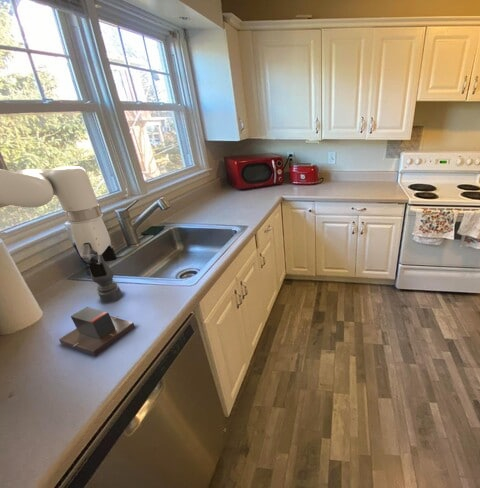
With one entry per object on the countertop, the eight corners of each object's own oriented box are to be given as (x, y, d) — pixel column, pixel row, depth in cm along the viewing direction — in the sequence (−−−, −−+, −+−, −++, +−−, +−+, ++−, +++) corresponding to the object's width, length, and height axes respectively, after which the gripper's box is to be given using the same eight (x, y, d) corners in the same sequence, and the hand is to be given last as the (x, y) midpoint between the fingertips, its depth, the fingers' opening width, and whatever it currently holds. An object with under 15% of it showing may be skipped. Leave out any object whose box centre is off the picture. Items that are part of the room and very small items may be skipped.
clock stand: (59, 346, 80) (55, 340, 79) (104, 316, 91) (102, 311, 90) (93, 358, 76) (90, 352, 75) (136, 326, 87) (134, 320, 86)
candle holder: (111, 291, 104) (85, 229, 93) (126, 293, 103) (101, 230, 92) (96, 302, 98) (67, 237, 87) (112, 303, 98) (85, 238, 87)
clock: (78, 332, 82) (70, 315, 79) (94, 322, 86) (86, 306, 83) (100, 339, 79) (92, 322, 77) (115, 328, 83) (108, 312, 81)
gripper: (80, 206, 82) (100, 257, 90) (51, 226, 68) (79, 285, 75) (110, 203, 85) (127, 253, 92) (88, 222, 70) (111, 280, 77)
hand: (105, 267), depth 83 cm, fingers open, 9 cm apart
